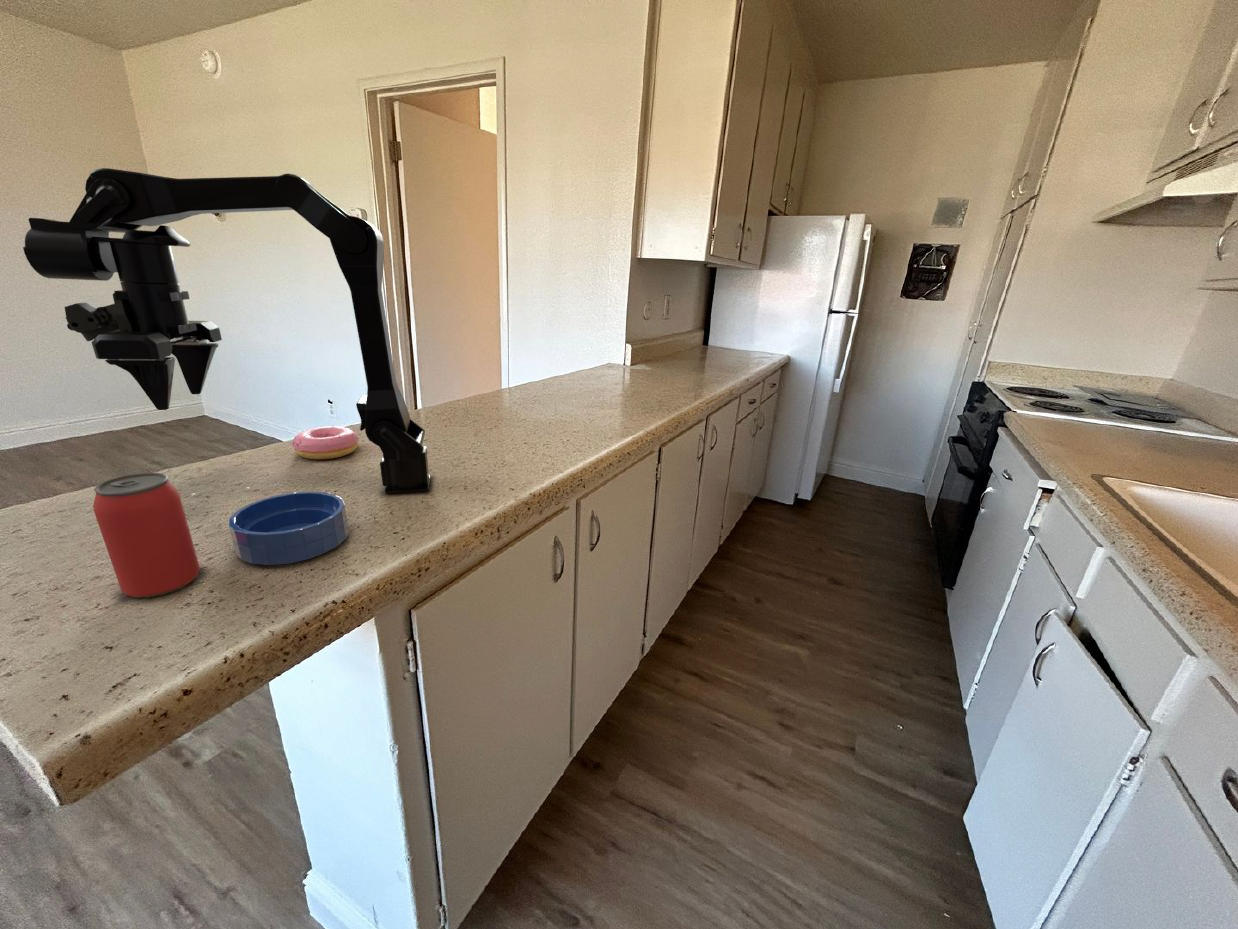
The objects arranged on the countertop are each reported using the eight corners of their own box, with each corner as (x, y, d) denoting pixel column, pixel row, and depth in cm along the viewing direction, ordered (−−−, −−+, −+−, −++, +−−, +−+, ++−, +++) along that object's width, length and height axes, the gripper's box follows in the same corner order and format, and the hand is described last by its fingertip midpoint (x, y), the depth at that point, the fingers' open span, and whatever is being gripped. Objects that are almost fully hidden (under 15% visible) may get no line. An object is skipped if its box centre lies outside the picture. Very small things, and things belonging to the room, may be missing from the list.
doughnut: (352, 461, 93) (349, 439, 91) (284, 463, 90) (280, 440, 89) (365, 442, 103) (363, 422, 101) (305, 443, 100) (301, 423, 99)
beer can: (153, 566, 59) (123, 469, 54) (214, 566, 59) (189, 470, 55) (104, 601, 52) (66, 494, 48) (173, 600, 53) (141, 495, 49)
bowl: (356, 517, 72) (352, 488, 71) (337, 562, 61) (332, 529, 60) (257, 525, 69) (251, 494, 67) (219, 573, 58) (210, 538, 56)
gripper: (117, 278, 72) (147, 387, 77) (12, 281, 55) (60, 421, 60) (211, 282, 75) (233, 387, 80) (138, 286, 58) (172, 418, 63)
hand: (180, 401), depth 71 cm, fingers open, 9 cm apart
